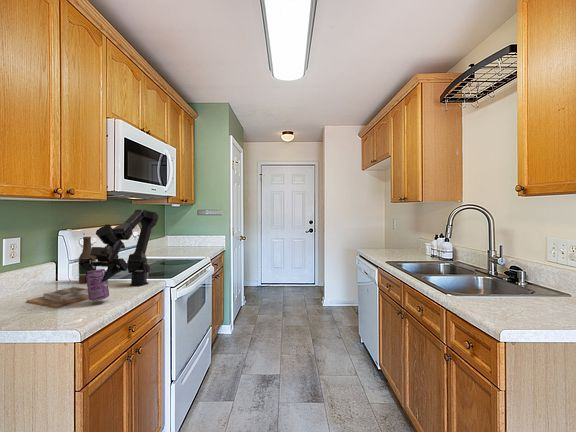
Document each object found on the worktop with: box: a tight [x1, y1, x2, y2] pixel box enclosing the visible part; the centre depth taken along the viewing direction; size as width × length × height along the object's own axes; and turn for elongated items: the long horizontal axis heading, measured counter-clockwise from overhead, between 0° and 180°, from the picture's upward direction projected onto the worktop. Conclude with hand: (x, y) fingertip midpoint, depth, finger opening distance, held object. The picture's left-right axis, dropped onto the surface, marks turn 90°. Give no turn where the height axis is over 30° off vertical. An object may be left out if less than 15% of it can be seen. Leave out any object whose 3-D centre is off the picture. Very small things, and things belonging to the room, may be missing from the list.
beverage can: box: [86, 268, 110, 302], centre depth 123 cm, size 7×7×12 cm
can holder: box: [25, 286, 89, 309], centre depth 130 cm, size 20×20×3 cm
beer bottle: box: [78, 236, 97, 285], centre depth 159 cm, size 8×8×24 cm
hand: (94, 282), depth 121 cm, fingers closed on beverage can, 7 cm apart
